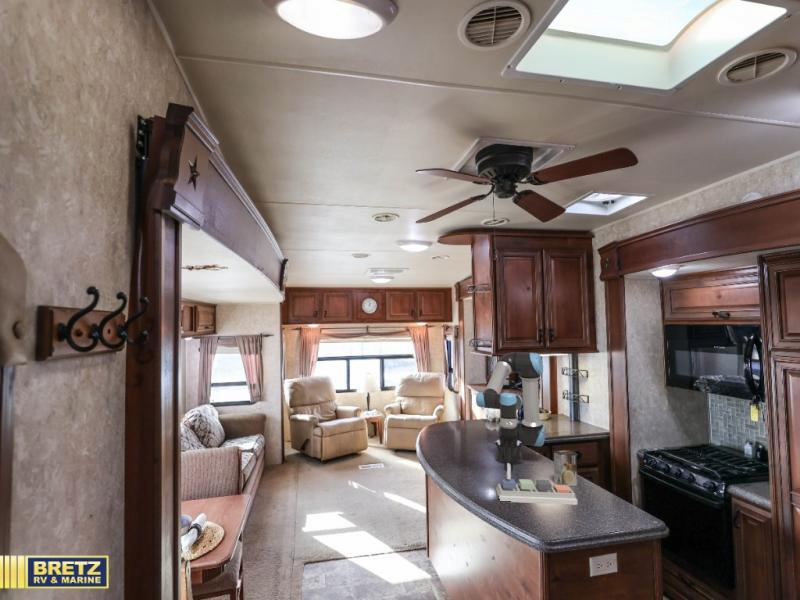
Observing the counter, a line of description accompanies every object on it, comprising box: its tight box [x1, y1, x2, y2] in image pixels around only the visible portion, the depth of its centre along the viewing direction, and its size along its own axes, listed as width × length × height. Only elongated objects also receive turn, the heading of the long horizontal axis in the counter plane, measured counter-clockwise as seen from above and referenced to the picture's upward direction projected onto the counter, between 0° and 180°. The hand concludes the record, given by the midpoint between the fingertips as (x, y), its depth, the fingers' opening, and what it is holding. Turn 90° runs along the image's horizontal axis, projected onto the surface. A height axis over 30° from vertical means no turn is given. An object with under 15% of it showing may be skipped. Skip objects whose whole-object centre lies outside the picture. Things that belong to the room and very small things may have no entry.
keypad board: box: [495, 482, 579, 506], centre depth 198 cm, size 13×34×4 cm, turn 85°
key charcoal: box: [535, 479, 553, 490], centre depth 198 cm, size 6×6×2 cm
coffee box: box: [553, 449, 578, 487], centre depth 215 cm, size 9×6×16 cm
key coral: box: [553, 484, 570, 493], centre depth 198 cm, size 6×6×2 cm
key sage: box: [518, 478, 535, 490], centre depth 199 cm, size 6×6×2 cm
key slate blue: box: [501, 478, 517, 489], centre depth 200 cm, size 6×6×2 cm
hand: (508, 478), depth 200 cm, fingers closed
